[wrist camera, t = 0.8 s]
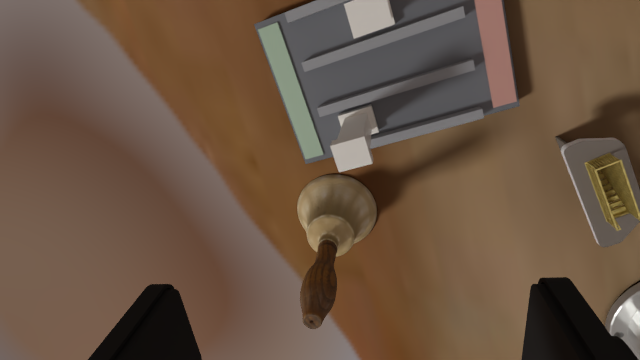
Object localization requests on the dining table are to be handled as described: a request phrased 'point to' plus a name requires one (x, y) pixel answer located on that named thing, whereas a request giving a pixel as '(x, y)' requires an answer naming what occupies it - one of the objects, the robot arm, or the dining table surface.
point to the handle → (354, 138)
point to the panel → (390, 68)
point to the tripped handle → (368, 16)
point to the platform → (588, 185)
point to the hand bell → (331, 235)
